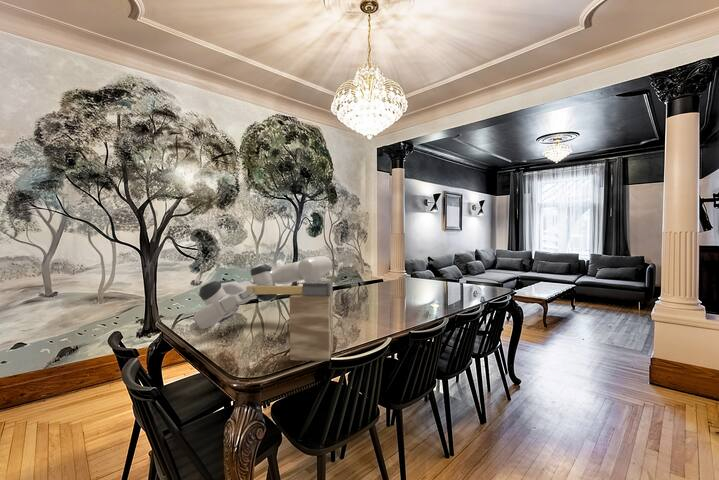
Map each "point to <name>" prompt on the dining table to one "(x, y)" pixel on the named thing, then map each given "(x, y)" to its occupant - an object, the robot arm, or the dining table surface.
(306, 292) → the socket
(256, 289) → the bar
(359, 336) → the dining table surface
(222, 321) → the robot arm
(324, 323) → the pedestal
